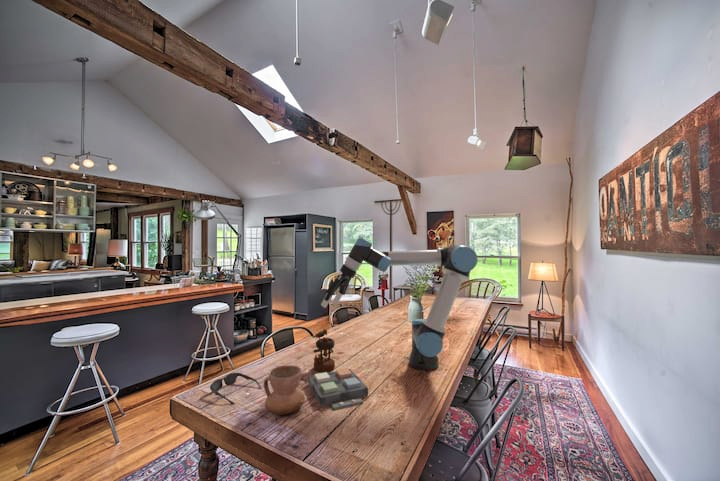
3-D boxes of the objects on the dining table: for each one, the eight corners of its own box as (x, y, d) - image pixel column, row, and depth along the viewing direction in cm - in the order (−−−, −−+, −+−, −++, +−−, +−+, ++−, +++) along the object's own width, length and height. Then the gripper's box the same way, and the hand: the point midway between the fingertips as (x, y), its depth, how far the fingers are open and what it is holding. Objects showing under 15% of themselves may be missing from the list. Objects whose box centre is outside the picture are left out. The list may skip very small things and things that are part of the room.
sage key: (333, 386, 124) (333, 381, 124) (337, 392, 119) (337, 387, 119) (320, 389, 122) (320, 384, 122) (324, 395, 117) (324, 390, 117)
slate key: (355, 382, 128) (355, 377, 128) (360, 388, 123) (360, 382, 123) (343, 384, 126) (343, 379, 126) (348, 390, 121) (348, 385, 121)
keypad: (350, 376, 140) (350, 368, 140) (367, 396, 122) (367, 387, 122) (308, 384, 132) (308, 376, 132) (320, 406, 114) (320, 397, 114)
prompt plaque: (359, 399, 119) (359, 397, 119) (362, 403, 117) (362, 400, 117) (331, 405, 115) (331, 403, 115) (333, 409, 112) (333, 407, 112)
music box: (322, 376, 140) (320, 333, 142) (307, 372, 147) (304, 331, 149) (344, 365, 152) (341, 326, 154) (328, 362, 159) (326, 324, 160)
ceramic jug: (314, 403, 117) (314, 366, 117) (292, 423, 103) (292, 382, 104) (277, 395, 124) (276, 360, 124) (252, 413, 110) (251, 374, 111)
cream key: (326, 377, 133) (326, 372, 134) (330, 382, 128) (330, 377, 128) (314, 379, 131) (314, 374, 131) (317, 384, 126) (317, 379, 126)
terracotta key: (347, 373, 137) (347, 368, 137) (351, 378, 132) (351, 373, 132) (336, 375, 135) (336, 370, 135) (340, 380, 130) (340, 375, 130)
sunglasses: (237, 380, 137) (238, 369, 137) (263, 392, 130) (264, 381, 129) (204, 396, 123) (205, 384, 123) (231, 411, 115) (233, 398, 115)
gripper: (351, 265, 157) (332, 300, 157) (334, 261, 133) (311, 302, 133) (363, 272, 154) (343, 307, 155) (348, 270, 131) (324, 311, 131)
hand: (328, 305), depth 144 cm, fingers open, 13 cm apart
